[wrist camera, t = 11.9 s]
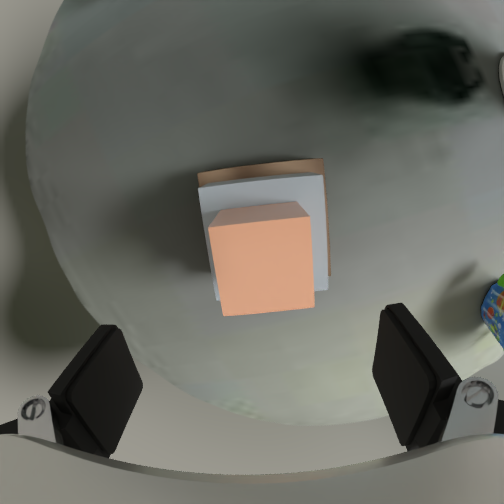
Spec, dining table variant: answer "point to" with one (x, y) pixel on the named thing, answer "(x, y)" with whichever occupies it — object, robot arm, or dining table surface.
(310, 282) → the terracotta cube
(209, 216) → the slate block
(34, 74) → the dining table surface
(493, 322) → the snack cup
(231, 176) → the walnut slab
